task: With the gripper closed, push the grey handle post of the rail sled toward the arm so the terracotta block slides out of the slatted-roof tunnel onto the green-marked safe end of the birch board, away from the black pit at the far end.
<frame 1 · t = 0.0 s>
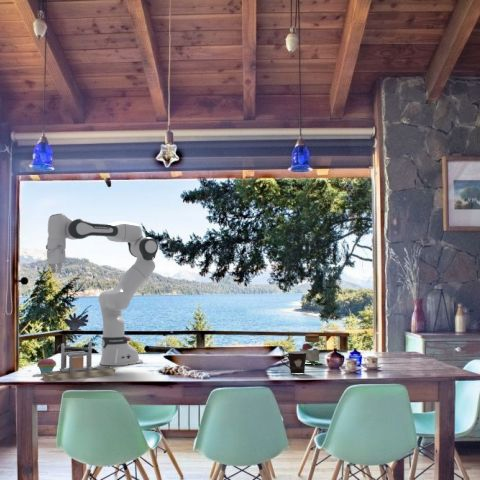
hand: (56, 272, 302), 48 cm above the table, tool pointing down, fingers open, 8 cm apart
sled: (76, 356, 277), point 9 cm above the table, slide at 0.0 cm
coffee mug: (294, 373, 283), on the table
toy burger: (311, 364, 313), on the table
tunnel: (76, 376, 276), resting on board
cupcake: (46, 374, 286), on the table
board: (79, 376, 277), on the table
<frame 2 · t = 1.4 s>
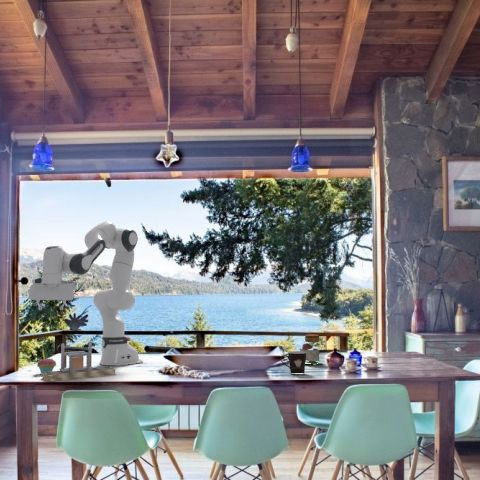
hand: (50, 310, 279), 31 cm above the table, tool pointing down, fingers open, 8 cm apart
nothing on the table moved.
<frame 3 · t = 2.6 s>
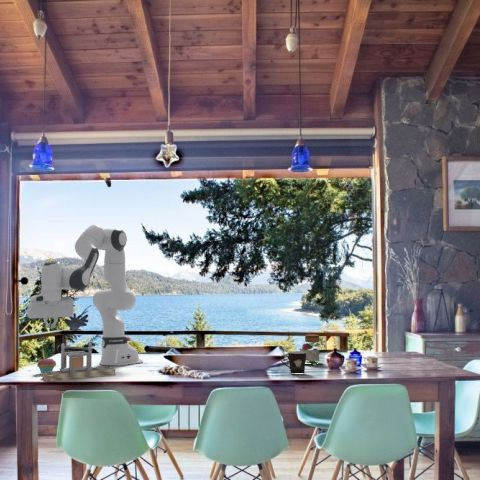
hand: (50, 327, 271), 23 cm above the table, tool pointing down, fingers closed
nothing on the table moved.
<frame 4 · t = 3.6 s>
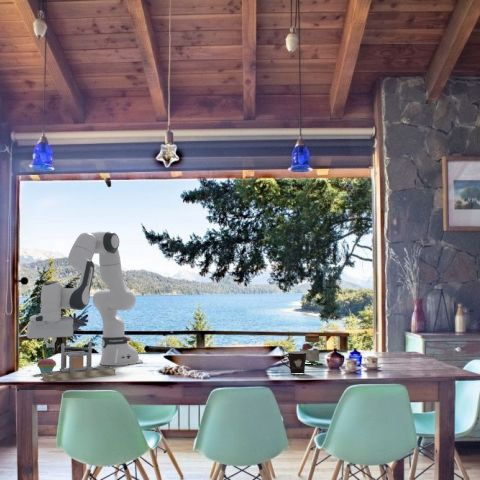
hand: (50, 347, 270), 14 cm above the table, tool pointing down, fingers closed
nothing on the table moved.
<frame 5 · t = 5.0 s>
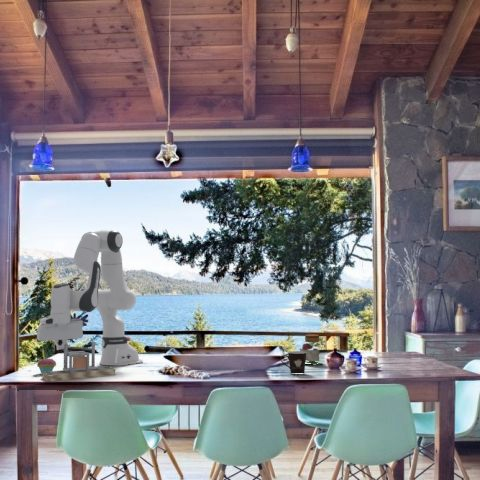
hand: (60, 349, 273), 13 cm above the table, tool pointing down, fingers closed
sled: (79, 355, 278), point 9 cm above the table, slide at -1.5 cm, touching gripper
everything else where it was.
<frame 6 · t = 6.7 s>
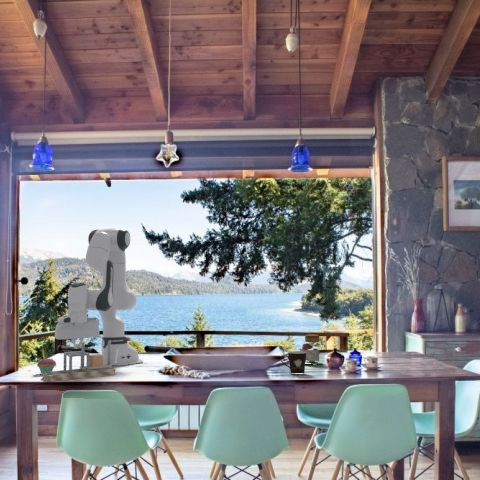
hand: (77, 348, 277), 13 cm above the table, tool pointing down, fingers closed
sled: (96, 354, 282), point 9 cm above the table, slide at -9.4 cm, touching gripper
everything else where it was.
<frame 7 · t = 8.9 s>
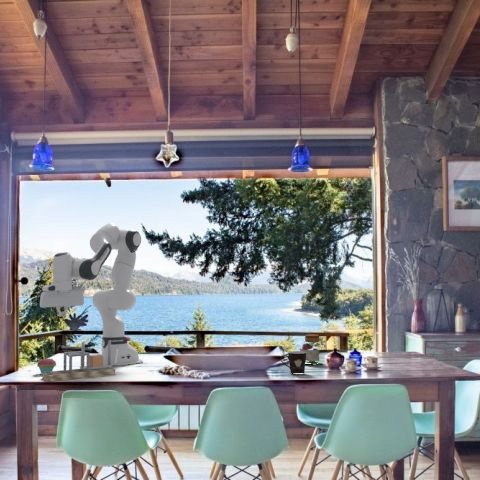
hand: (62, 316, 282), 28 cm above the table, tool pointing down, fingers closed
sled: (96, 354, 282), point 9 cm above the table, slide at -9.4 cm
everything else where it was.
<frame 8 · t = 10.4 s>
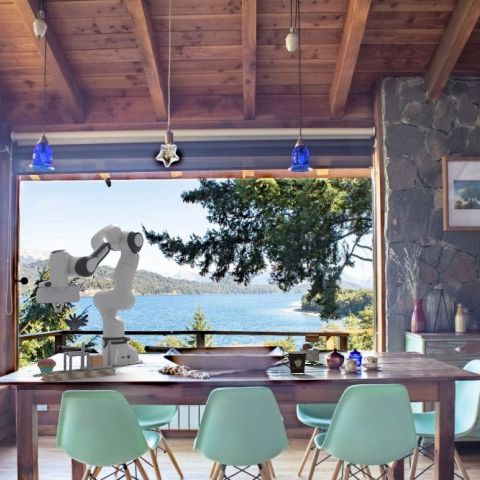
hand: (58, 312, 286), 29 cm above the table, tool pointing down, fingers closed
nothing on the table moved.
at the end: sled slide at -9.4 cm; sled touching nothing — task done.
